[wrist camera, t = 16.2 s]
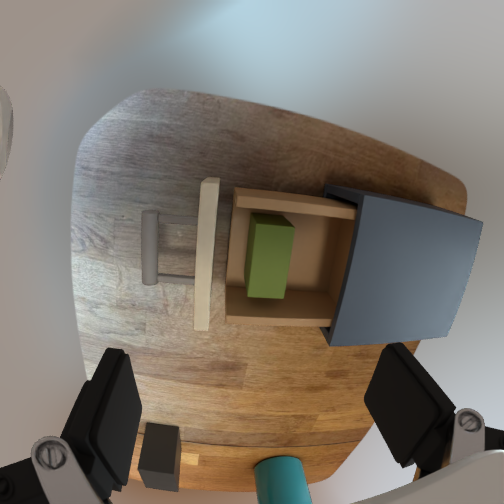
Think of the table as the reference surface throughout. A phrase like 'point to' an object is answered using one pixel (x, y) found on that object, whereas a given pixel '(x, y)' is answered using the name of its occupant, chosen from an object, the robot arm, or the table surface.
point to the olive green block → (268, 255)
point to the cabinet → (401, 270)
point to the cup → (281, 481)
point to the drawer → (236, 301)
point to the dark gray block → (160, 457)
